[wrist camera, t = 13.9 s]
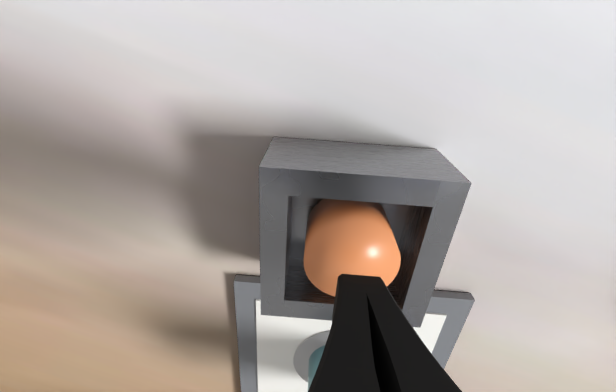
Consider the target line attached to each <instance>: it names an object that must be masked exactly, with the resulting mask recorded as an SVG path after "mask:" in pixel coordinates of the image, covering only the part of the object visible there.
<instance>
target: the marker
mask: <svg viewBox="0 0 616 392" xmlns="http://www.w3.org/2000/svg"><path fill="white" fill-rule="evenodd" d="M324 348H325V345H324V346H322V347H320V348H318V349H316V350H315V351H314V352H313V353H312V354H311V356H310V358H309V368H308V390H309V388H310V385H311V383H312V380H313V378H314V375H315V373H316V370H317V368H318V365H319V362H320V359H321V357H322V354H323V351H324Z"/></svg>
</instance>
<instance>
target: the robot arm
mask: <svg viewBox="0 0 616 392" xmlns="http://www.w3.org/2000/svg"><path fill="white" fill-rule="evenodd" d="M308 392H462V391H461V390H460V389H459V388H458V386H457V385H456V384H455V383H454V382H453V380H452V379H451V378H450V377H449V375H448V374H447V373H446V372H445V370H444V369H443V368H442V367H441V365H440V364H439V363H438V361H437V360H436V359H435V357H434V356H433V355H432V354H431V352H430V351H429V350H428V348H427V347H426V345H425V344H424V343H423V341H422V340H421V339H420V337H419V336H418V334H417V333H416V331H415V330H414V328H413V327H412V326H411V324H410V323H409V321H408V320H407V318H406V317H405V315H404V314H403V312H402V311H401V309H400V308H399V306H398V304H397V303H396V301H395V300H394V298H393V296H392V295H391V293H390V291H389V290H388V288H387V286H386V285H385V283H384V281H383V280H382V279H381V277H377V276H364V275H351V274H341V275H339V276H338V280H337V287H336V294H335V300H334V307H333V314H332V325H331V329H330V332H329V336H328V339H327V342H326V345H325V348H324V351H323V354H322V357H321V359H320V362H319V365H318V368H317V370H316V373H315V375H314V378H313V380H312V383H311V385H310V388H309V390H308Z"/></svg>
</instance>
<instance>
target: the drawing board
mask: <svg viewBox="0 0 616 392" xmlns="http://www.w3.org/2000/svg"><path fill="white" fill-rule="evenodd" d="M234 294H235V309H236V324H237V338H238V353H239V368H240V383H241V392H308V368H309V358H310V356H311V354H312V353H313V352H314V351H315V350H316V349H318V348H320V347H322V346H324V345H326V342H327V339H328V336H329V332H330V329H331V325H332V321H330V320H318V319H305V318H293V317H280V316H267V315H261V297H260V277H259V276H246V275H236V276H235V279H234ZM474 301H475V300H474V298H473V296H472V294H471V293H462V292H450V291H437V290H434V291H433V293H432V296H431V299H430V302H429V305H428V308H427V310H426V313H425V316H424V319H423V322H422V325H421V327H420V328H419V327H413V328H414V330H415V331H416V333H417V334H418V336H419V337H420V339H421V340H422V341H423V343H424V344H425V345H426V347H427V348H428V350H429V351H430V352H431V354H432V355H433V356H434V357H435V359H436V360H437V361H438V363H439V364H440V365H441V367H442V368H443V369H444V368H445V365H446V363H447V361H448V359H449V356H450V354H451V352H452V350H453V348H454V345H455V343H456V341H457V339H458V336H459V334H460V332H461V330H462V328H463V325H464V323H465V321H466V319H467V316H468V314H469V312H470V310H471V307H472V305H473V303H474Z"/></svg>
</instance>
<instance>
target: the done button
mask: <svg viewBox="0 0 616 392" xmlns="http://www.w3.org/2000/svg"><path fill="white" fill-rule="evenodd" d="M400 263H401V257H400V251H399V249H398V246H397V243H396V240H395V238H394V235H393V232H392V229H391V227H390V224H389V221H388V218H387V216H386V213H385V211H384V209H383V208H382V206H381V205H380V204H379V203H375V202H362V201H349V200H336V199H323V200H321V201H320V202H319V203H317V204H316V205H315V207H314V208H313V209H312V211H311V212H310V214H309V216H308V220H307V226H306V238H305V250H304V269H305V272H306V275H307V277H308V279H309V280H310V281H311V283H312V284H313V285H314V286H315V287H317V288H318V289H319V290H321V291H323V292H324V293H326V294H329V295H331V296H334V297H335V294H336V287H337V280H338V276H339V275H341V274H351V275H364V276H377V277H381V279H382V280H383V281H384V283H385V285H386V286H388V285H389V284H390V283H391V282H392V281H393V280H394V278H395V277H396V275H397V273H398V271H399V268H400Z"/></svg>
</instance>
